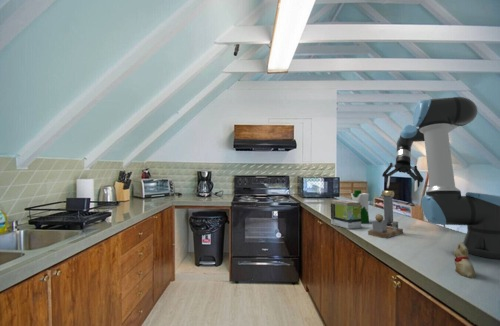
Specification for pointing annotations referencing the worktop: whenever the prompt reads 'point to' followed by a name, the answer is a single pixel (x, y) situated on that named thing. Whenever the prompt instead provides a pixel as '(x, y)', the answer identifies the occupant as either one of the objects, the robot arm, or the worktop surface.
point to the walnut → (379, 217)
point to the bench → (388, 231)
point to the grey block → (380, 226)
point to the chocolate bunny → (463, 261)
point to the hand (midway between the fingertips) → (401, 189)
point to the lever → (388, 206)
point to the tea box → (346, 213)
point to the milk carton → (362, 204)
